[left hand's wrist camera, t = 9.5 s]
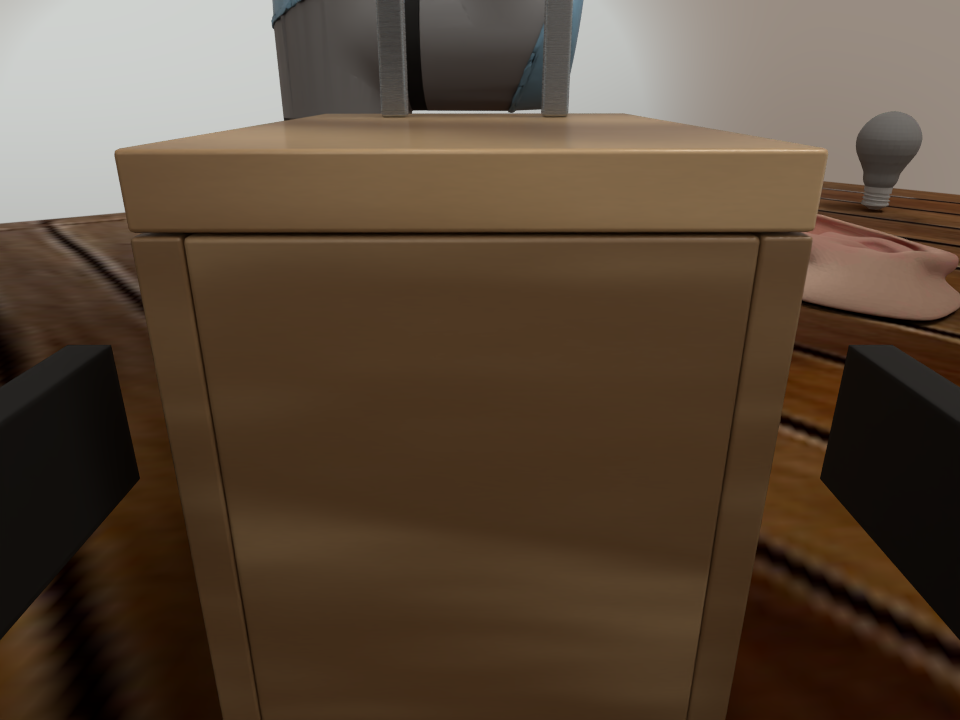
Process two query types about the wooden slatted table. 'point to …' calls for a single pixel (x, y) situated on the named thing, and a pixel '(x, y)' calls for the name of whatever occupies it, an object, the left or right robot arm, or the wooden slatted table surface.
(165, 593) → the wooden slatted table surface
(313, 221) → the lid
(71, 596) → the wooden slatted table surface
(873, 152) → the light bulb
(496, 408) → the chest
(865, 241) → the anatomical model
